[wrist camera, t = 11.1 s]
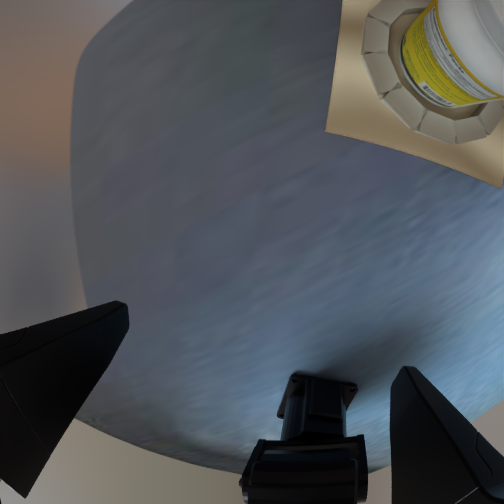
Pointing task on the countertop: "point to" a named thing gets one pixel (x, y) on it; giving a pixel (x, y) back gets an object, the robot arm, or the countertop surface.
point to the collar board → (405, 97)
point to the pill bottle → (456, 52)
